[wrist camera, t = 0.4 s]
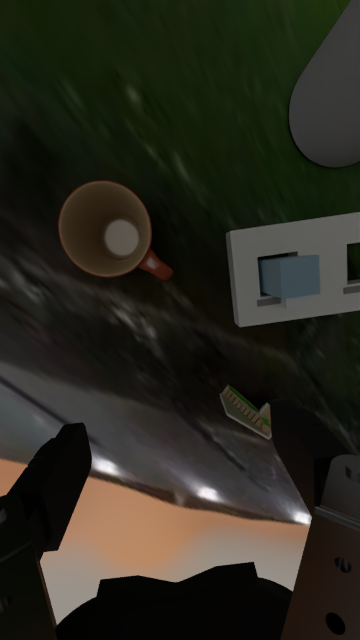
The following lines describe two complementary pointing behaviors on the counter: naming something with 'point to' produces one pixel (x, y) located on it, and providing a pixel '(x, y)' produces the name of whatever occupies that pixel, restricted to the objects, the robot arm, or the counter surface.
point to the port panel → (295, 240)
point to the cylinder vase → (331, 96)
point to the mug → (109, 231)
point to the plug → (290, 279)
